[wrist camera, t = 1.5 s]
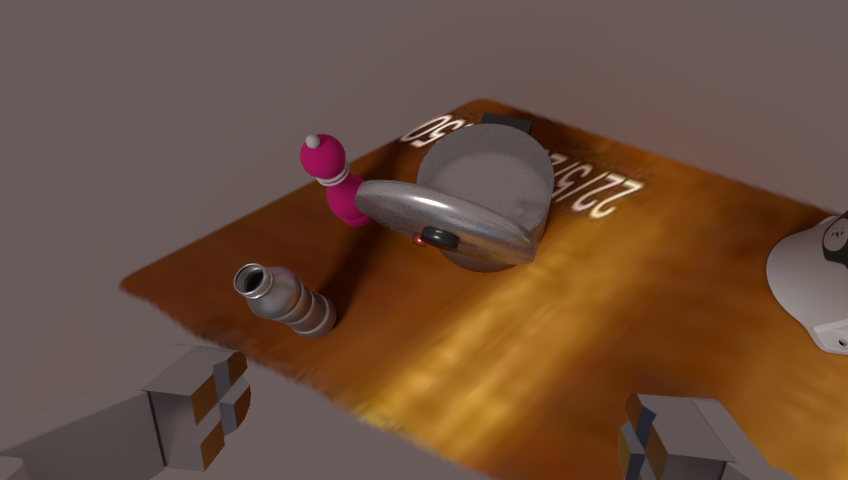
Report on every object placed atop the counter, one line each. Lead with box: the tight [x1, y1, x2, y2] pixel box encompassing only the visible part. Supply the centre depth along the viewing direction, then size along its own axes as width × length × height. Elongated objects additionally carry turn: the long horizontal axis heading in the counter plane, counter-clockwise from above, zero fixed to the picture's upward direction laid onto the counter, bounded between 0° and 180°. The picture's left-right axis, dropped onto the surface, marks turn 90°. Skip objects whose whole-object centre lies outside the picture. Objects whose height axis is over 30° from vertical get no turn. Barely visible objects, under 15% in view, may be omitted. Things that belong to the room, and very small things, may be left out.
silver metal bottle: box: [234, 263, 337, 338], centre depth 55 cm, size 6×7×20 cm
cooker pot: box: [417, 113, 554, 273], centre depth 61 cm, size 18×22×12 cm
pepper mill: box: [300, 134, 372, 227], centre depth 61 cm, size 7×7×20 cm
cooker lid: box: [354, 180, 538, 265], centre depth 43 cm, size 19×19×3 cm
